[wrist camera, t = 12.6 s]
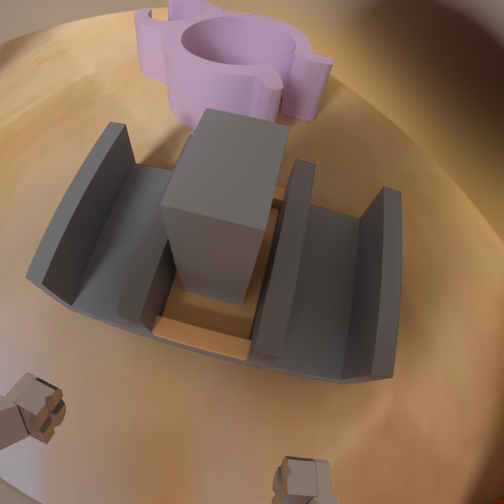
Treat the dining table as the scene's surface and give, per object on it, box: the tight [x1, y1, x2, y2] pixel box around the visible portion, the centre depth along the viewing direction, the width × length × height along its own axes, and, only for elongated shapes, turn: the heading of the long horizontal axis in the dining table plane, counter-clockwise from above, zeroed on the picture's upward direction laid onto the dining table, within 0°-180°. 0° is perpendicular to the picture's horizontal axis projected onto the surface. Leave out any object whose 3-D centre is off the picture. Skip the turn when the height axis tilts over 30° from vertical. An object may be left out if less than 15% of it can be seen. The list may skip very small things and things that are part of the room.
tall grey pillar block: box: [160, 108, 290, 306], centre depth 15 cm, size 4×5×9 cm
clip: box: [134, 0, 333, 131], centre depth 27 cm, size 20×12×7 cm, turn 46°
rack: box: [25, 122, 402, 384], centre depth 19 cm, size 19×11×6 cm, turn 77°
